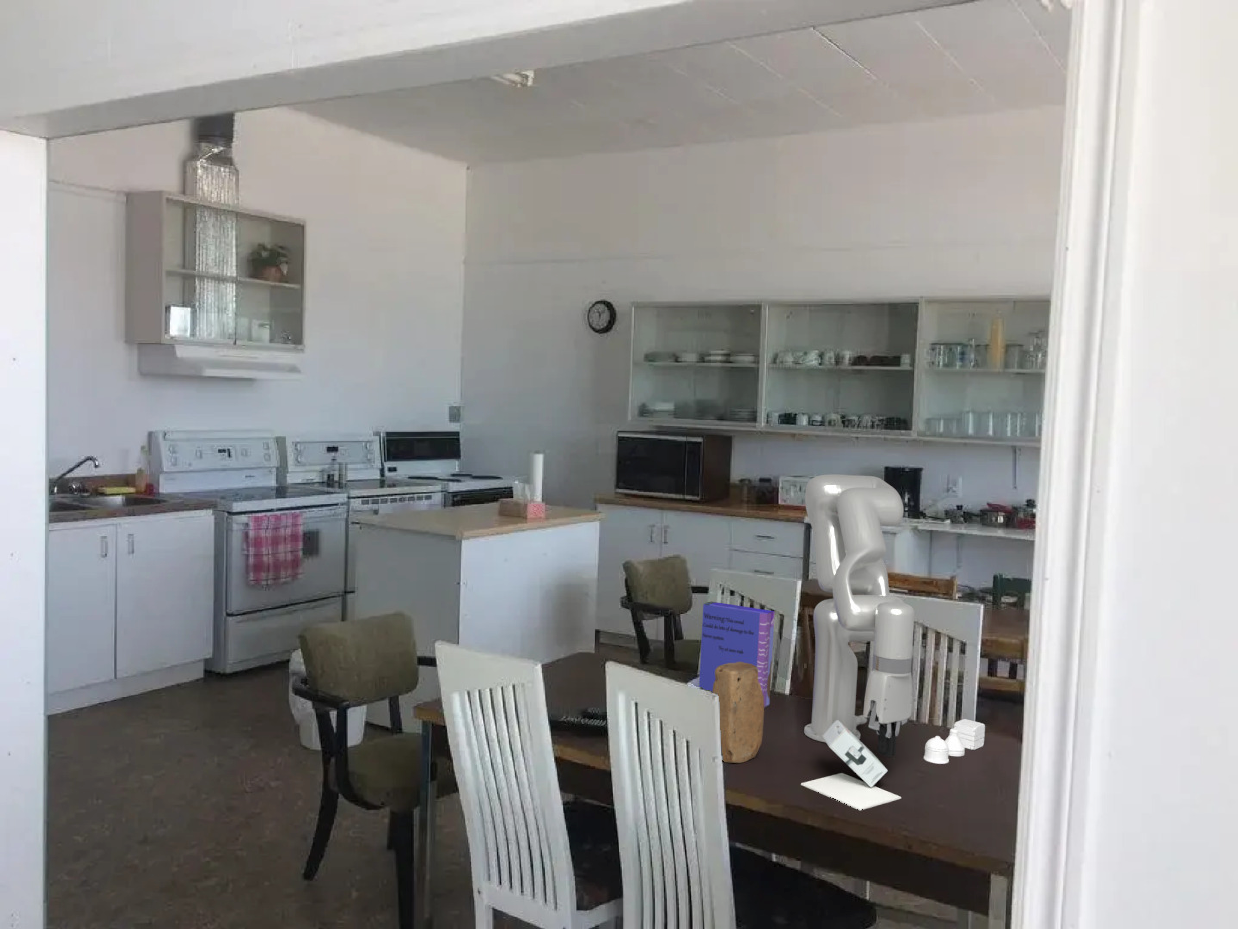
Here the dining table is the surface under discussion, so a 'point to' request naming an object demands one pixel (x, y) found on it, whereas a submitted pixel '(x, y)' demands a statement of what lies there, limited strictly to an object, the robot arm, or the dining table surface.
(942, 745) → the container set
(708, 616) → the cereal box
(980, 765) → the dining table surface
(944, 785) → the dining table surface
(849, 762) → the ink box
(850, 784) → the mat
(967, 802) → the dining table surface
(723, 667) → the block
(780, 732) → the dining table surface
